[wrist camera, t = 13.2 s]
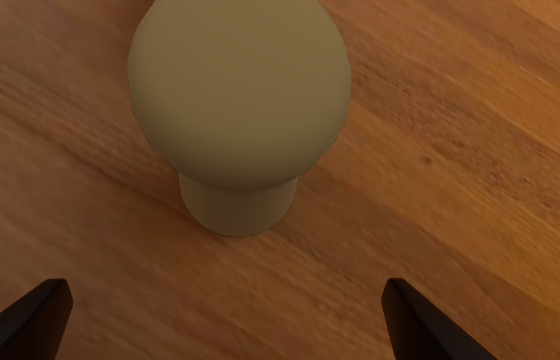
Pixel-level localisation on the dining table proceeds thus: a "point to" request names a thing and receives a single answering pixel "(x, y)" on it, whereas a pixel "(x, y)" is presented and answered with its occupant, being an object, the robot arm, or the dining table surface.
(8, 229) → the dining table surface
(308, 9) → the tan peg doll
